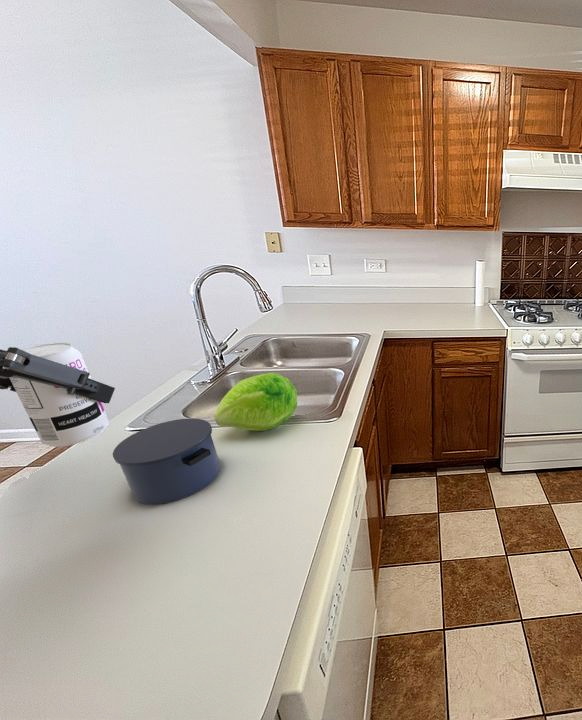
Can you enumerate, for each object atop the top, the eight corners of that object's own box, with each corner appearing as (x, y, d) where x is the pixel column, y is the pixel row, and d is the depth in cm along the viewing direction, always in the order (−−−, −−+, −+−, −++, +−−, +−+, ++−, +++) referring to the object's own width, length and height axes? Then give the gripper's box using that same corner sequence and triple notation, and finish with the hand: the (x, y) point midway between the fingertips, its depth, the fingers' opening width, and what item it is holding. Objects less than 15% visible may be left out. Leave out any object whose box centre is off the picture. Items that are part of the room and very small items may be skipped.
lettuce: (226, 431, 111) (205, 382, 106) (300, 406, 121) (284, 360, 116) (226, 455, 98) (202, 401, 93) (310, 424, 107) (292, 373, 102)
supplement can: (58, 427, 68) (19, 345, 62) (118, 418, 71) (86, 338, 65) (30, 454, 61) (-16, 364, 55) (99, 442, 64) (61, 355, 58)
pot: (107, 493, 85) (88, 451, 81) (185, 449, 100) (173, 412, 96) (171, 517, 78) (153, 473, 74) (245, 466, 93) (234, 427, 89)
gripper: (-211, 364, 45) (13, 415, 66) (-31, 367, 44) (137, 417, 65) (-167, 307, 47) (34, 373, 68) (1, 308, 47) (152, 375, 68)
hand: (84, 395), depth 67 cm, fingers closed on supplement can, 8 cm apart
